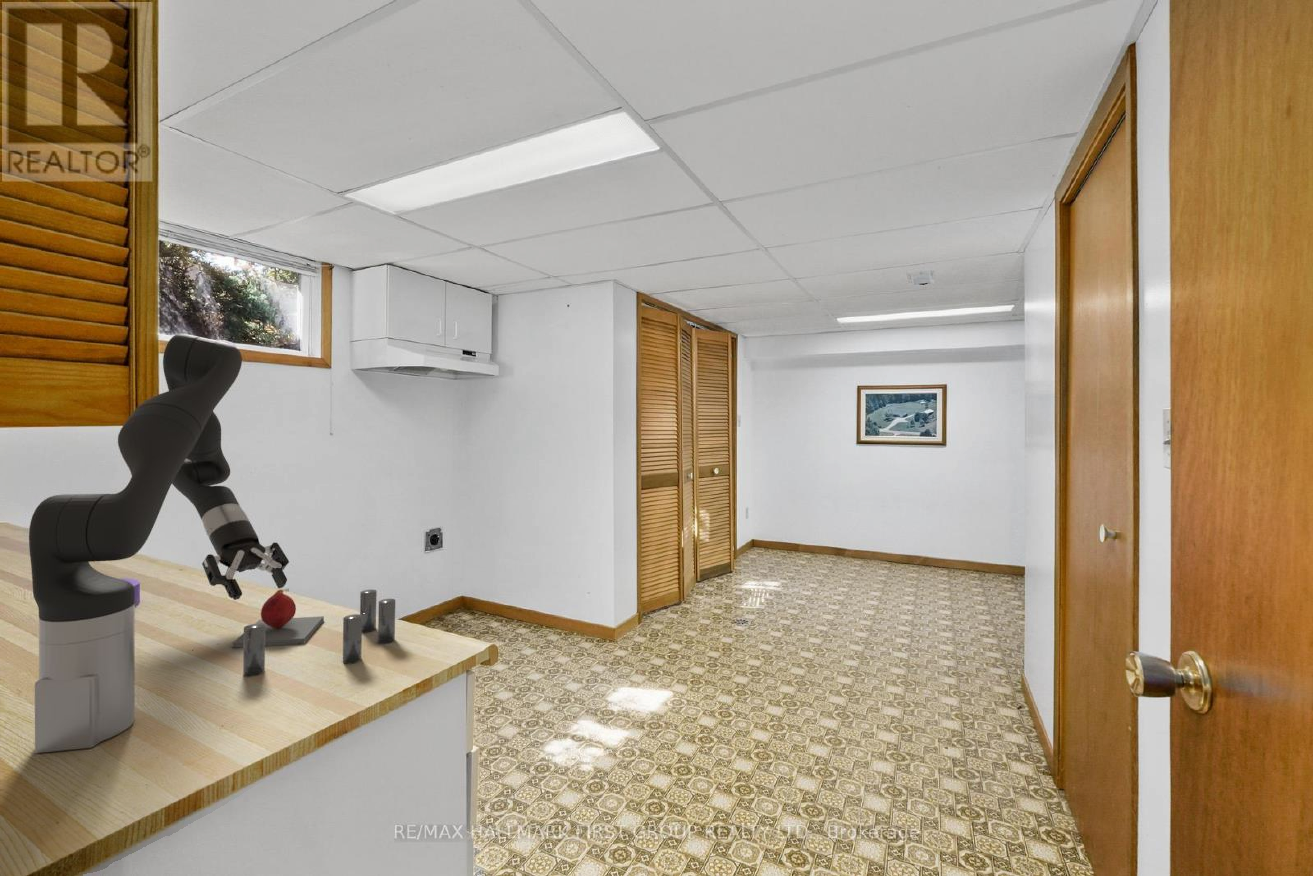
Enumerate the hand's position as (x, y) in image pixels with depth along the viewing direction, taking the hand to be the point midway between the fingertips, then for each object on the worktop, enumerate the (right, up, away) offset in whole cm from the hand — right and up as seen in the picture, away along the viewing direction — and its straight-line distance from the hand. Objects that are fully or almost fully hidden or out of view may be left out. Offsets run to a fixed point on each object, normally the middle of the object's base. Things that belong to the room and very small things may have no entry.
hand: (261, 591), depth 114 cm
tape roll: (-40, -6, +7) cm, 41 cm away
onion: (+6, -7, -3) cm, 10 cm away
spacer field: (+19, -8, -8) cm, 23 cm away
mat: (+6, -8, -3) cm, 10 cm away
